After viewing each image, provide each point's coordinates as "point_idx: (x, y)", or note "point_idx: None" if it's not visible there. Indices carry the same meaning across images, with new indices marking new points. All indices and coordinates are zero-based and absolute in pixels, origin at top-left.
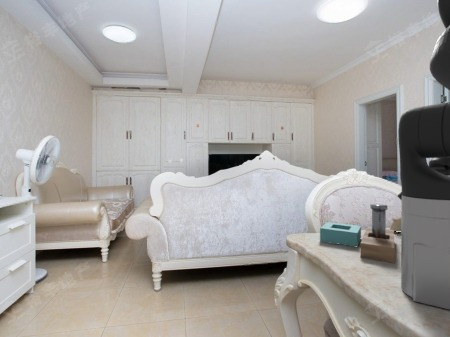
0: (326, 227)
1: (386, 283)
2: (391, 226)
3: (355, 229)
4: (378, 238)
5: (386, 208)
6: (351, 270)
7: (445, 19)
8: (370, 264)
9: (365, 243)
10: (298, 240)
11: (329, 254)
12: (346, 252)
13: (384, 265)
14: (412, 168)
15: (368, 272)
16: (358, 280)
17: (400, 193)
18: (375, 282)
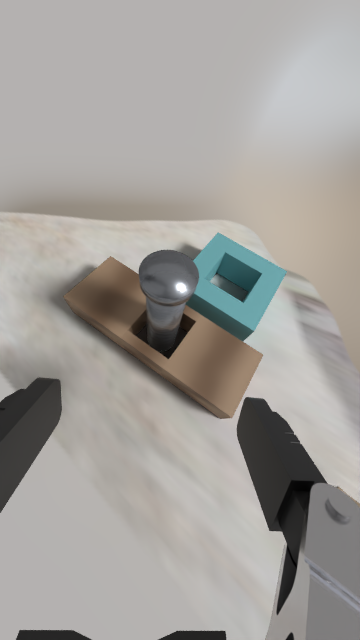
0: (225, 245)
1: (6, 250)
2: (356, 503)
3: (210, 295)
4: (139, 310)
5: (142, 288)
6: (62, 234)
7: None
8: (78, 270)
9: (105, 262)
10: (214, 225)
11: (135, 237)
12: None
13: (68, 289)
14: None
15: (48, 250)
16: (28, 225)
17: (264, 411)
18: (15, 239)
